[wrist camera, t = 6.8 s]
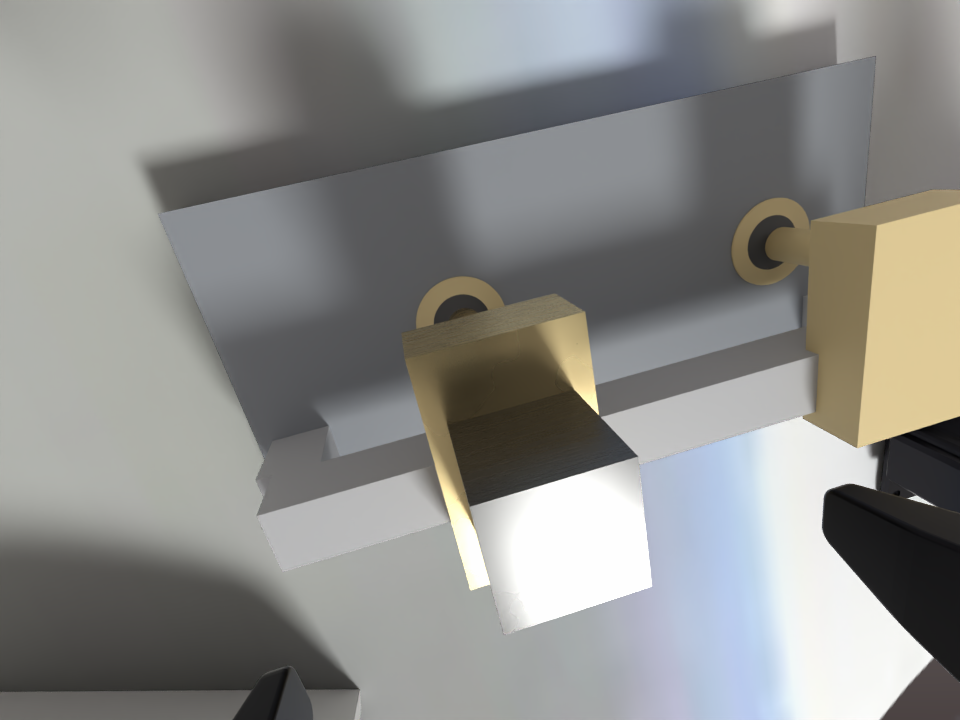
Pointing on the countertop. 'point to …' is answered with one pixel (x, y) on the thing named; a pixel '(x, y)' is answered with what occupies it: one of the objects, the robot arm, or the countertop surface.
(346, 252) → the plate
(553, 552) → the block
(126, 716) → the white curved block
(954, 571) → the robot arm
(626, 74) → the countertop surface
